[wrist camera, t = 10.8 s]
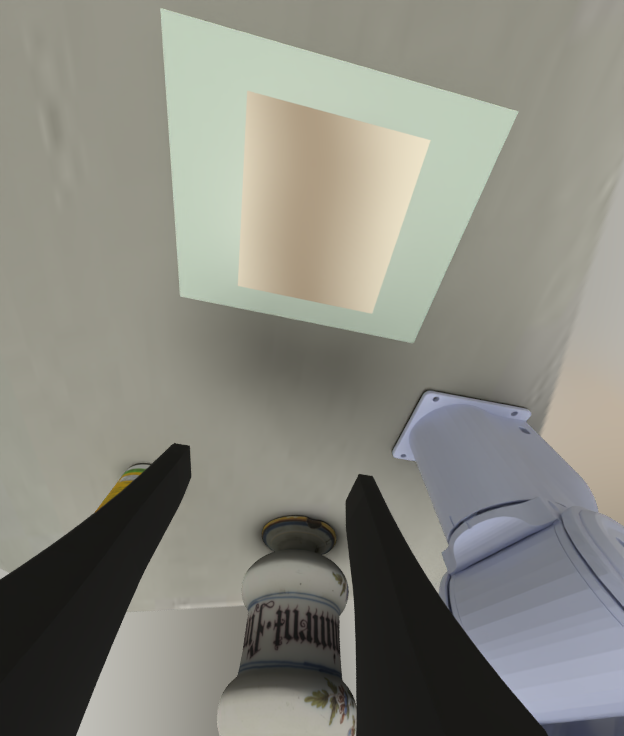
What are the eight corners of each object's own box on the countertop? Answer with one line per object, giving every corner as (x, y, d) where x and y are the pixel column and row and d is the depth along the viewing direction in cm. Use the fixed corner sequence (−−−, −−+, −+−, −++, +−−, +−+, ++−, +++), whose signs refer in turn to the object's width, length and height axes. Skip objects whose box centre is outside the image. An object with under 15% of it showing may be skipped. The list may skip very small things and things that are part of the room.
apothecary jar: (359, 521, 32) (396, 814, 16) (326, 562, 38) (330, 805, 22) (264, 501, 30) (205, 806, 14) (245, 548, 36) (189, 799, 20)
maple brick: (385, 171, 10) (430, 140, 6) (354, 281, 13) (372, 313, 8) (277, 143, 10) (247, 90, 6) (266, 261, 12) (237, 285, 8)
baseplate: (504, 118, 12) (518, 111, 12) (409, 337, 19) (413, 343, 18) (172, 23, 11) (160, 8, 10) (187, 292, 17) (180, 296, 16)
